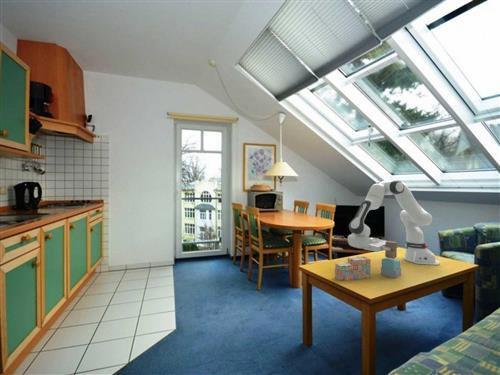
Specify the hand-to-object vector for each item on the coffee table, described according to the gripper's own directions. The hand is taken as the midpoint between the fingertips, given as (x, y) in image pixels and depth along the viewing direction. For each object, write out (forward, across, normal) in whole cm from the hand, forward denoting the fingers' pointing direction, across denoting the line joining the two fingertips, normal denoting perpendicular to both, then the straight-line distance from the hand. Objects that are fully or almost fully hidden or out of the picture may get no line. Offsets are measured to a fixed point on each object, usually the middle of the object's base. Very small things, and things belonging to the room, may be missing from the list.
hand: (392, 248), depth 164 cm
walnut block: (-1, 0, +6) cm, 6 cm away
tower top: (-1, 0, +13) cm, 13 cm away
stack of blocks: (-14, -24, +18) cm, 33 cm away
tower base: (-1, 0, +18) cm, 18 cm away
